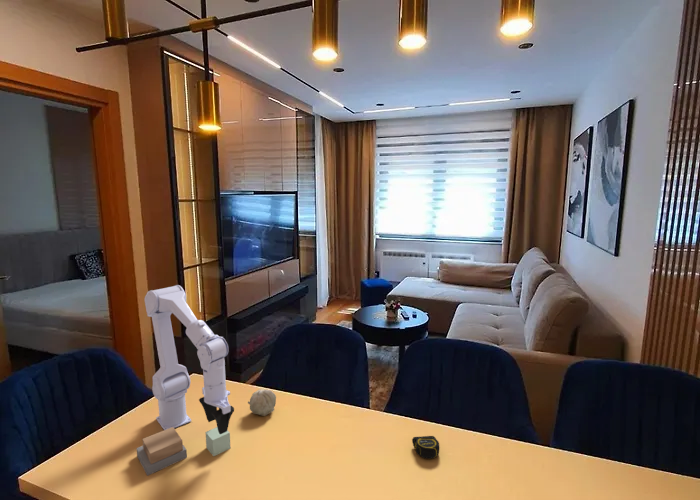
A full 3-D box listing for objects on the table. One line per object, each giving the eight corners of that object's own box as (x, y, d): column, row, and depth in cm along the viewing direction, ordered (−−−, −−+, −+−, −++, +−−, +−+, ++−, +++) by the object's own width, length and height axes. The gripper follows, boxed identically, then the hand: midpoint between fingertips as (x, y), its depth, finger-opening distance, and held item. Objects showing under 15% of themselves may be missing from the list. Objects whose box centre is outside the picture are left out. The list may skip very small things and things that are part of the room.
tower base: (137, 458, 103) (136, 448, 103) (174, 442, 110) (174, 432, 110) (147, 477, 96) (146, 467, 96) (187, 459, 103) (186, 449, 102)
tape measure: (434, 444, 108) (435, 433, 108) (442, 461, 101) (443, 448, 101) (411, 446, 108) (412, 434, 107) (418, 462, 101) (418, 450, 100)
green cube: (206, 447, 107) (205, 432, 106) (223, 440, 110) (222, 424, 109) (213, 456, 103) (212, 440, 102) (230, 448, 106) (229, 432, 106)
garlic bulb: (275, 417, 126) (284, 392, 124) (260, 426, 118) (269, 400, 117) (256, 402, 129) (264, 378, 128) (240, 410, 122) (249, 385, 121)
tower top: (143, 448, 103) (142, 438, 102) (173, 436, 108) (173, 426, 108) (151, 464, 97) (150, 453, 96) (183, 450, 102) (182, 440, 102)
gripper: (240, 385, 101) (242, 431, 103) (217, 368, 112) (220, 410, 114) (214, 395, 96) (217, 443, 98) (194, 375, 107) (196, 419, 109)
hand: (217, 426), depth 106 cm, fingers open, 7 cm apart
